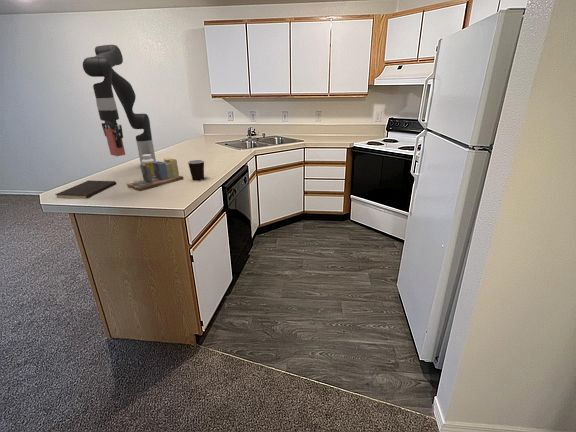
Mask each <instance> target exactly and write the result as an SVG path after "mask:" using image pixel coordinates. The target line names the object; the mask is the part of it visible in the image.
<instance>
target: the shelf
mask: <svg viewBox="0 0 576 432" xmlns="http://www.w3.org/2000/svg"><path fill="white" fill-rule="evenodd" d="M152 163H153V168H154V174H155V177H153V178H152V176H151V171H150V167H148V166H145V165H141V164H140V169H141V170H140V171H141V174H142V175H141V176H142V180H138V181H134V182H131V183H127V186H126V187H128V189H132V190H135V191H138V192H143V191H146V190H149V189H153V188H157V187H160V186H163V185H167V184H171V183H174V182H178V181H182V180H184V176H181V175H180V174H179V173H180V172H179V167H178V161H177V159H175V158H171V157H167V158H163V161H159V160H156V162H152Z"/></svg>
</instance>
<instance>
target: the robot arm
mask: <svg viewBox="0 0 576 432" xmlns="http://www.w3.org/2000/svg"><path fill="white" fill-rule="evenodd" d="M94 52H95V56H89V57H85V58H84V59H83V61H82V69H83V72H84V73H85V74H86V75H87V76H89V77H93V78H99V77H100V78H103V81H101V82H96V83H94V84H93V85H92V88H93V93H94V96H95V102H96V108H97V112H98V116H99V119H100V121H103V122H102V123H101V127H102V131H103V134H104V136H105V137H106V133H105V129H104V128H106V129H113V130H114V129H115V133H114V132H112V134H113V135H114V138H115V141H116V145H117V148H122V143H121V139H122V140H123V139H124V134H123V133H124V132H123V129H122V128H123V127H122V124H118V123H117V121H118V120H120V115H119V111H118V108H117V102H116V100H115V97H114V92H115V94H116V97H117V98H118V100H119V102H120V104H121V107H123V108H122V109H123V110H124V113H125V115H126V117H127V118H126V119H127V120H128V123H129V125H130V127H131V128H132V129H134V130H143V132H142V133H139V134H138V135H136V136H135V142H136V147H137V151H138V158H139V162H140V166H141V165H142V160H143V157H142V155H144V154H151V156H152V157H151V158H152V159H153V160H154V162H156V161H157V158H156V155H155V154H156V153H155V149H154V142H153V138H152V136H153V135H152V129H151V121H150V117H149V115H148V114H147V113H135V112H134V110H133V107H134V105H135V102H136V92H135V90H134V89H133V86H132V85H131V82H129V81H128V80H127V79H126V78H125V77H123V76H122V75H120V74H119V73H117V72H116V71H115V70H114V69H113V67H115V66H119V65H122V64H123V62H124V61H123V60H124V57H123V54H122V51H121V49H120V48H119V46H118V45H115V44H103V45H97V46H95V48H94ZM115 134H116V135H115ZM120 135H121V136H120Z"/></svg>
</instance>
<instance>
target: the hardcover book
mask: <svg viewBox="0 0 576 432" xmlns="http://www.w3.org/2000/svg"><path fill="white" fill-rule="evenodd" d="M116 185H117V182H116V181H115V180H86V181H83V182H81V183H79V184H77V185H74V186H73V187H72V186H71V187H70V188H67V189H64V190H62V191H59V192H58V193H55V194H54V195H55V196H56V198H58V199H60V198H61V199H89V198H92V197H93V196H96V195H98V194H100V193H101V192H104V191H105V190H107V189H109V188H111V187H114V186H116Z"/></svg>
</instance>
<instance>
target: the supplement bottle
mask: <svg viewBox="0 0 576 432" xmlns="http://www.w3.org/2000/svg"><path fill="white" fill-rule="evenodd" d="M142 157H143V160H142V165H145V166H148V167H150V171H151V176H152V178H154V177H155V174H154V168H153V163H152V162H154V160H153V159H152V158H151V157H152V156H151V154H144V155H142Z"/></svg>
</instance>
